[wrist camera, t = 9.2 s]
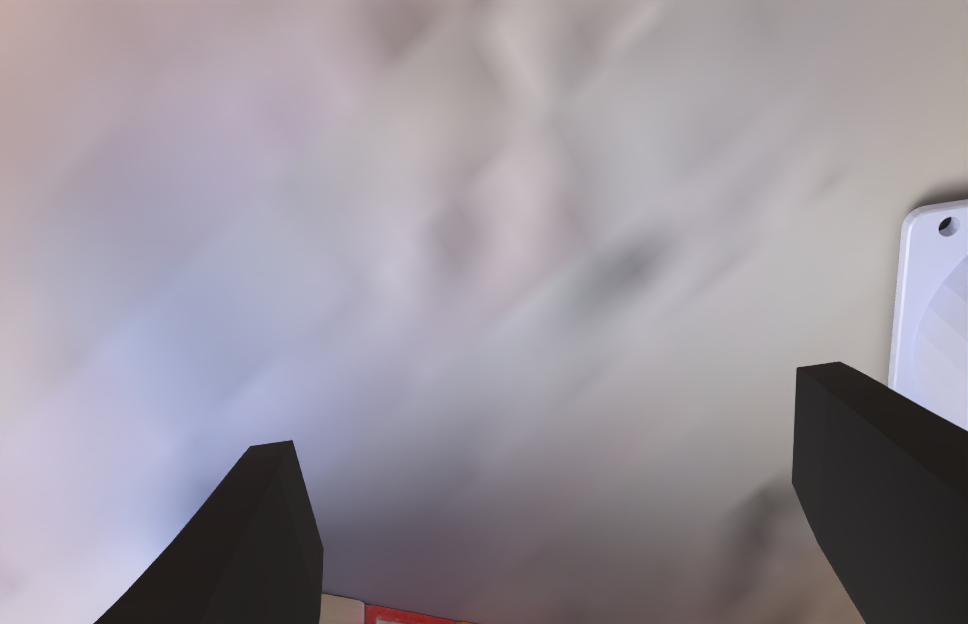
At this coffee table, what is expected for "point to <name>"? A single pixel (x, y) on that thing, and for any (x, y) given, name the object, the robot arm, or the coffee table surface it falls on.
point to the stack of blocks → (370, 613)
